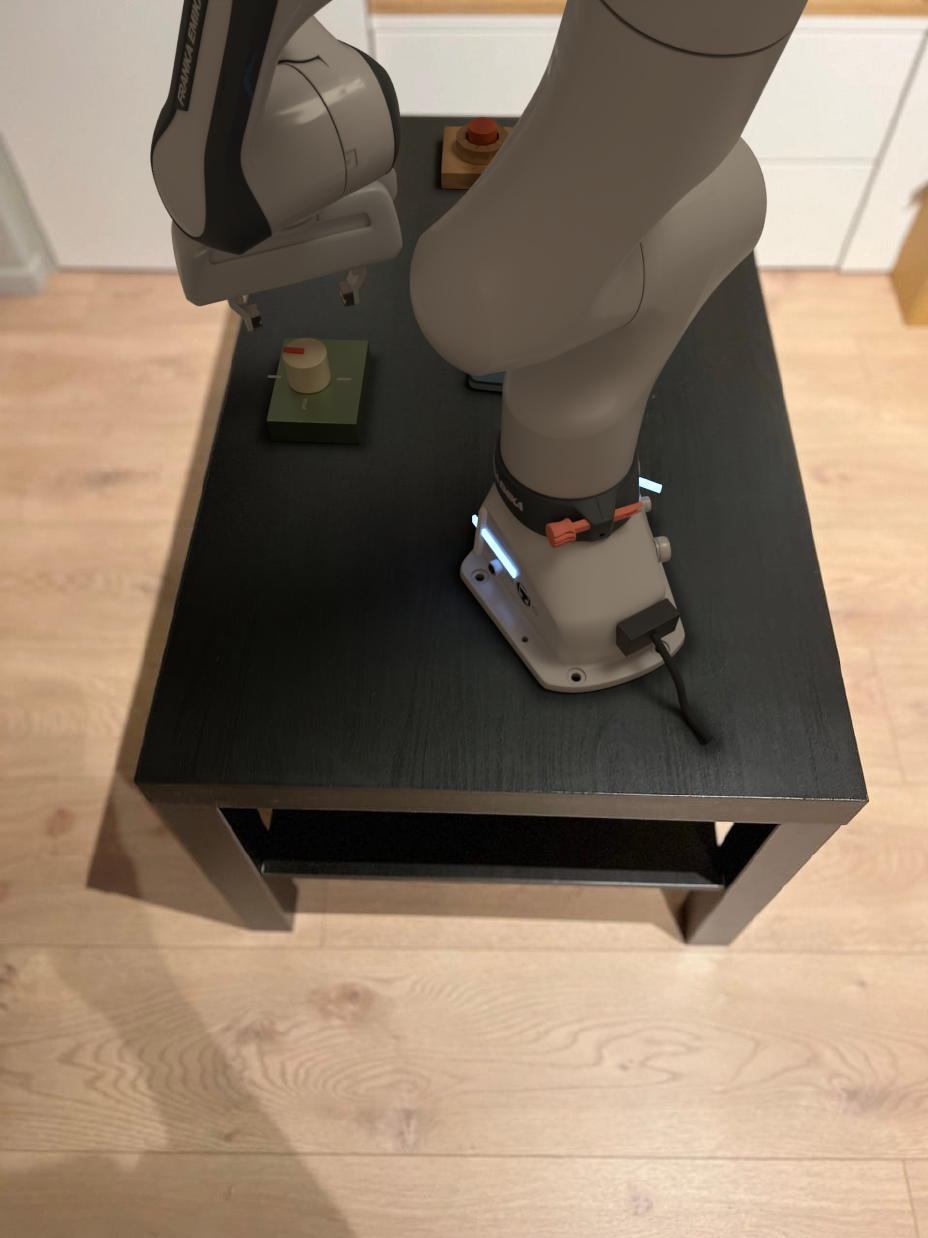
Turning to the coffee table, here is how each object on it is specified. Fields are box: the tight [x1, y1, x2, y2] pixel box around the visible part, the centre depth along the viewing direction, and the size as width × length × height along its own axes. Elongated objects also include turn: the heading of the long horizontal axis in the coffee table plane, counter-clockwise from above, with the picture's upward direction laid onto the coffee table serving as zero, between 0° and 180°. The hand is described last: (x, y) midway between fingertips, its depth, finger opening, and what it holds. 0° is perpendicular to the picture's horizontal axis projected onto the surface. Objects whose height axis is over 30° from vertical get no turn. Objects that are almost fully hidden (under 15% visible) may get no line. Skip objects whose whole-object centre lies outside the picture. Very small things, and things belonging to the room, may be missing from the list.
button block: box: [440, 122, 514, 190], centre depth 124 cm, size 10×10×4 cm
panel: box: [266, 337, 372, 445], centre depth 102 cm, size 12×10×3 cm
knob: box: [282, 337, 331, 394], centre depth 99 cm, size 4×4×4 cm
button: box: [467, 116, 498, 146], centre depth 122 cm, size 4×4×2 cm
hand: (302, 313), depth 94 cm, fingers open, 8 cm apart
